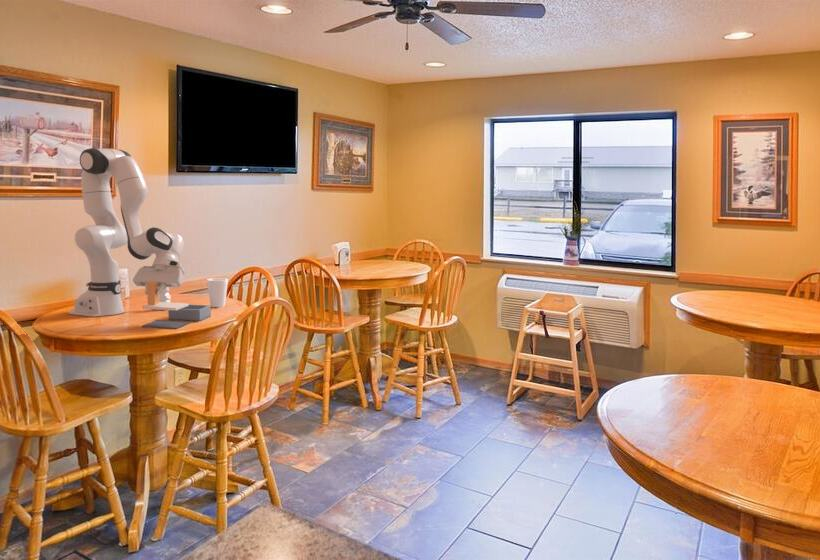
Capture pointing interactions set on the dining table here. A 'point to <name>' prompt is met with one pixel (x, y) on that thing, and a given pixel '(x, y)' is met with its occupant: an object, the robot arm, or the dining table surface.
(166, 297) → the white creature statuette
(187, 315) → the tub
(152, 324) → the mat
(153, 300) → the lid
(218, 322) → the dining table surface
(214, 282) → the foam cup
